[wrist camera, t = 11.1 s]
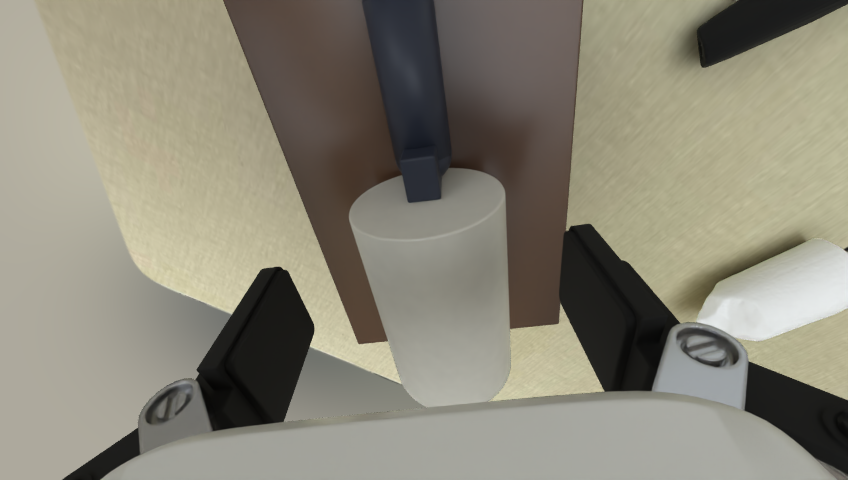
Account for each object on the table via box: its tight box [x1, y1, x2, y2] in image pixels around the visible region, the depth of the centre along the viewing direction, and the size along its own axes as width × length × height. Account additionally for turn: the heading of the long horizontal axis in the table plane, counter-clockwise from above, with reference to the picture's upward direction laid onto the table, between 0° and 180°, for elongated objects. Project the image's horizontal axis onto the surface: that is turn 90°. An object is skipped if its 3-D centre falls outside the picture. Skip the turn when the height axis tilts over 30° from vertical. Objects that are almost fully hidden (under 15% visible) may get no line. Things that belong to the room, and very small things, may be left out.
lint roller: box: [349, 0, 511, 407], centre depth 12 cm, size 16×6×6 cm, turn 9°
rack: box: [223, 0, 583, 344], centre depth 20 cm, size 12×18×11 cm, turn 9°
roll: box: [696, 238, 848, 341], centre depth 29 cm, size 6×12×6 cm, turn 128°
